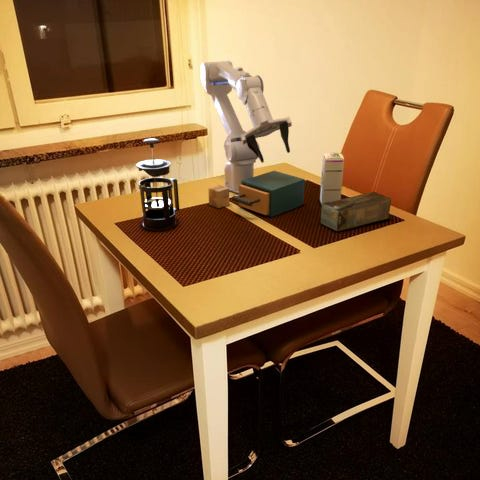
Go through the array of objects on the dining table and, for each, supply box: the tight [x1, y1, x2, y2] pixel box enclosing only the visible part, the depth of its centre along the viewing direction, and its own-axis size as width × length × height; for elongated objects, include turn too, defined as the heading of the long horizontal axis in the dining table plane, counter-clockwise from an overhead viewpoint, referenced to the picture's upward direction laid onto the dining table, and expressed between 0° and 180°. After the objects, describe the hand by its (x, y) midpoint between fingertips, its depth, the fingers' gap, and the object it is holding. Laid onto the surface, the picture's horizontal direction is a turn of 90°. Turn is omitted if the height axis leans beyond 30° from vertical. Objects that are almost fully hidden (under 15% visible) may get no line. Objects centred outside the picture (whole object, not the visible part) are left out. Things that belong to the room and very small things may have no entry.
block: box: [208, 184, 230, 209], centre depth 149 cm, size 4×4×5 cm
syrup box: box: [319, 152, 345, 206], centre depth 148 cm, size 6×6×14 cm
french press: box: [136, 138, 180, 232], centre depth 132 cm, size 12×9×23 cm
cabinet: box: [241, 170, 306, 218], centre depth 148 cm, size 14×12×8 cm
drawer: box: [231, 185, 270, 216], centre depth 145 cm, size 18×11×6 cm, turn 134°
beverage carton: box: [320, 191, 392, 232], centre depth 137 cm, size 8×19×7 cm, turn 118°
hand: (275, 155), depth 137 cm, fingers open, 7 cm apart
